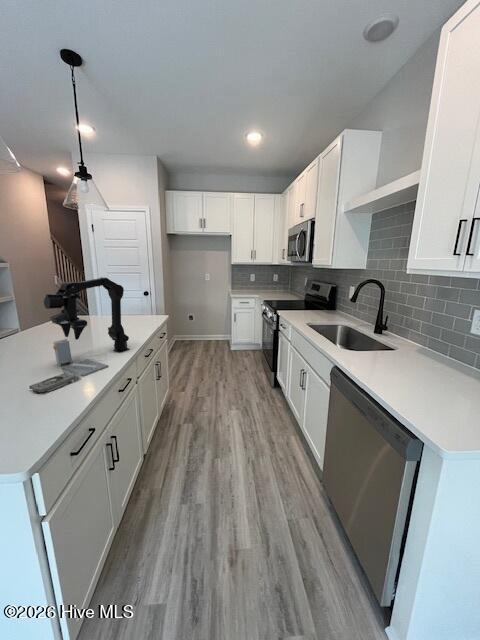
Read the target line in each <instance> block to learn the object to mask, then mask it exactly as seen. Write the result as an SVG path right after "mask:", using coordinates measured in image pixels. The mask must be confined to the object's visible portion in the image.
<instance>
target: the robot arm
mask: <svg viewBox="0 0 480 640" xmlns="http://www.w3.org/2000/svg"><path fill="white" fill-rule="evenodd" d="M101 286H102V287H103V288H104V289H105V290H107V294H108V297H109V298H110V301H111V325H110V326H108V327H107V330H108V332H107V335H108V336H109V338H111V340H112V341H113V343H114V344H113V348H114V349H113V351H114V352H118V353H124V352H126V351H128V350H130V348H129V347H128V342H127V341H129V339H130V337H129V335H127V334H126V333H125V329H124V326H123V325H122V311H121V310H122V308H121V307H122V306H121V305H122V303H121V300H122V299H123V297H124V292H125V291H124V287H123V286H122V285H120V284H118V283H116V282H114V281H112V280H111V279H109V278H108V277H99V278H95V279H94V278H93V279H89V280H82V281H64V282H62V283H61V284H60V288H59V289H57V292H56V293H55V294H53V293H52V294H50V293H46V294H45V297H44V299H43V306H44V308H45V309H47V310H48V309H49V310H50V309H52V310H53V309H61V310H60V312H59V313H57V314H54V315H52V316H50V317H49V319H50V321H51V324H55V325H58V326H59V327H60V328H61V329H62V332H63V333H64V337H66V338H67V337H69V335H70V332H71V329H72V330H73V333H74V339H75V341H76V340H79V338H80V336H81V334H82V332H83V331H84V329H85V328H86V327H87V326H88V321H87V320H86V319H82V318H81V319H80V317H78V313H79V312H80V310H79V309H78V299H82V296H80V295H79V294H78V293H81V292H82V291H84V290H86V289H87V290H88V289H92V288H96V287H101ZM62 308H63V309H62Z"/></svg>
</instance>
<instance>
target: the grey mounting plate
mask: <svg viewBox="0 0 480 640" xmlns="http://www.w3.org/2000/svg"><path fill="white" fill-rule="evenodd" d="M108 368H109V364H105V363H102V362H98V361H94V360H92V359H91V360H90V359H88V358H86V359H82V360H79V361H77V362H72V364H70V363H69V365H65V366H61V367H60V369H61V370H62V371H63V370H66V371H70V373H71V372H74V373H78V374H80V373H81V378H82V377H86V376H88V375H91V374H95V373H97V372H99V370H100V371H102V370H106V369H108ZM74 373H73V374H74Z"/></svg>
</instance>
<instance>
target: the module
mask: <svg viewBox="0 0 480 640" xmlns="http://www.w3.org/2000/svg"><path fill="white" fill-rule="evenodd" d="M70 346H71V345H70V340H68V339H66V338H65V339H61V340H56V341H53V345H52V349H53V351H54V354H55V358H56V359H55V360H56V365H57V366H58V367H59V368H61V367H62V364H63V363H67V362H68V363H69V365H70V364H72V363H73V361H72V360H73V359H72V352H71V347H70Z"/></svg>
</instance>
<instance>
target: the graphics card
mask: <svg viewBox="0 0 480 640" xmlns="http://www.w3.org/2000/svg"><path fill="white" fill-rule="evenodd" d="M80 380H82V376H81V373H80V374H78V373H74V372H70V371H66V370H62V373H61V374H58V375H54V376H51V377H50V378H47V379H44V380H41V381H39V382H36V383H32V384H31V385H29V386H28V387H29V390H32V391H33V392H39V393H44V392H48V393H49V392H51V391H54V390H56V389H58V388H64V387H68V386H70V385H72V384H74V383H76V382H80Z"/></svg>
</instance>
